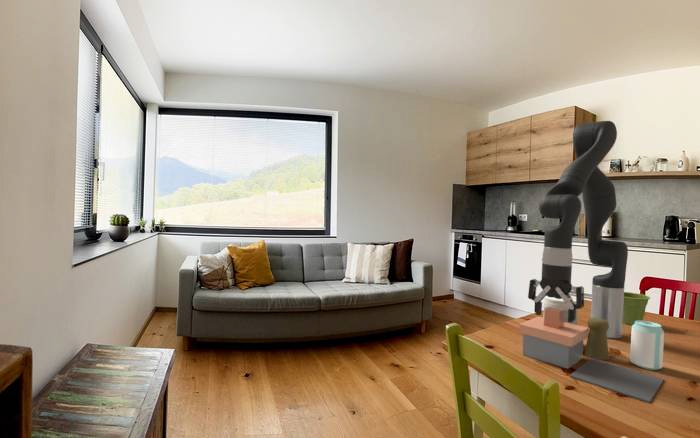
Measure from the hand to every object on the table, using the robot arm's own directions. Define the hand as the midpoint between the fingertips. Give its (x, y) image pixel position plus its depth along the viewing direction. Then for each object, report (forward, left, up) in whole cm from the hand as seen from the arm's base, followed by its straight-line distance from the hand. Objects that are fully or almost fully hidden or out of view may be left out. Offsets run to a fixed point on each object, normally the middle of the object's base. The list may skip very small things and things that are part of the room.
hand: (554, 318), depth 106 cm
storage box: (0, 0, -11) cm, 11 cm away
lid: (0, 0, -5) cm, 5 cm away
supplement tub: (-14, -3, -12) cm, 18 cm away
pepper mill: (-12, +8, -12) cm, 19 cm away
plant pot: (-63, +6, -12) cm, 64 cm away
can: (-15, +19, -12) cm, 27 cm away
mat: (+2, +16, -11) cm, 20 cm away
